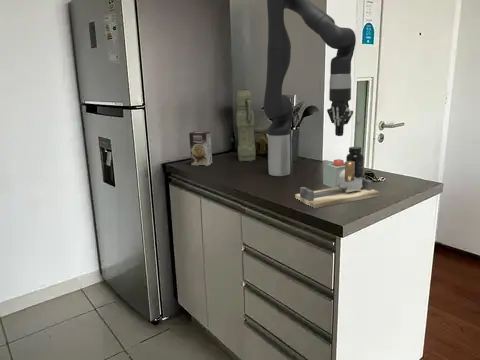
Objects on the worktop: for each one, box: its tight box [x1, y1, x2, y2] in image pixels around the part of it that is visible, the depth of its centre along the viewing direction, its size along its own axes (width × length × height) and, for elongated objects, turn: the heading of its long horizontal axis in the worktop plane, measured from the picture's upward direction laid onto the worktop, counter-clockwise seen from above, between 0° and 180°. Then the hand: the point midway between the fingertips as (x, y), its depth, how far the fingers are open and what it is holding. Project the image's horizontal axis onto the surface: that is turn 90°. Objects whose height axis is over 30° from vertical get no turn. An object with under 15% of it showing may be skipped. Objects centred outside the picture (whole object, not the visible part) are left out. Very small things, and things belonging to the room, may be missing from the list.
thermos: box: [235, 88, 257, 162], centre depth 194 cm, size 9×12×35 cm
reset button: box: [333, 158, 344, 167], centre depth 146 cm, size 4×4×4 cm
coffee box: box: [188, 130, 213, 167], centre depth 191 cm, size 9×6×16 cm
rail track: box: [294, 177, 380, 209], centre depth 134 cm, size 12×26×5 cm, turn 112°
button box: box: [322, 161, 346, 188], centre depth 147 cm, size 8×8×8 cm
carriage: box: [337, 161, 362, 192], centre depth 134 cm, size 6×6×10 cm
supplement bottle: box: [345, 146, 365, 178], centre depth 157 cm, size 7×7×12 cm
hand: (339, 135), depth 143 cm, fingers closed
